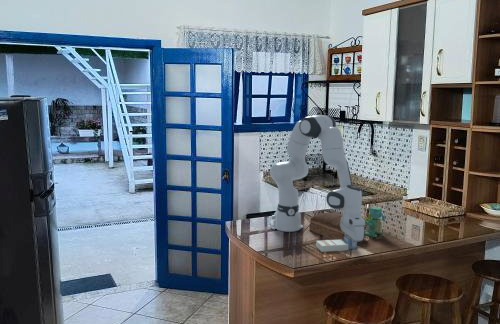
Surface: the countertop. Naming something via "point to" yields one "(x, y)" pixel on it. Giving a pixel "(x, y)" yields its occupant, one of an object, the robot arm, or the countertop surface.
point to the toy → (374, 222)
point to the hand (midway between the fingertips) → (350, 243)
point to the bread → (328, 225)
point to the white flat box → (331, 245)
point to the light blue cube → (349, 242)
